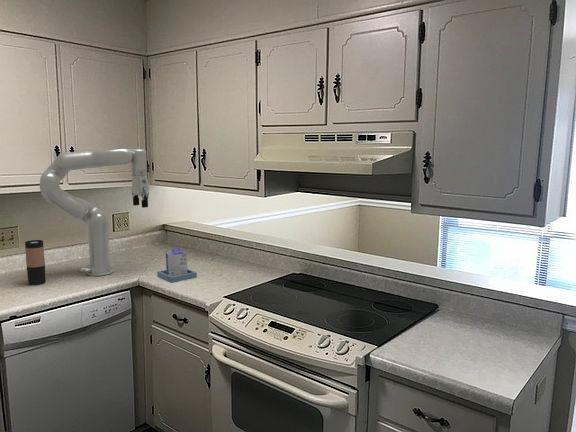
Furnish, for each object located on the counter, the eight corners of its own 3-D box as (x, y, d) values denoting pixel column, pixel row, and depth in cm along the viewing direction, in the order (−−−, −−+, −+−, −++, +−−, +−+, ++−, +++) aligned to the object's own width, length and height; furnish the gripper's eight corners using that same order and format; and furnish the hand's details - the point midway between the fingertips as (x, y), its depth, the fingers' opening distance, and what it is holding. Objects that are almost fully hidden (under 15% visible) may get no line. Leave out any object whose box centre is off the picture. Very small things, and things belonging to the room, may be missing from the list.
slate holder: (171, 282, 223) (171, 277, 223) (157, 276, 234) (157, 271, 233) (196, 277, 233) (196, 272, 233) (182, 271, 243) (182, 266, 243)
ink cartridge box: (185, 274, 238) (184, 246, 236) (188, 276, 233) (187, 248, 231) (165, 276, 234) (165, 248, 231) (168, 279, 229) (167, 250, 227)
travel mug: (26, 282, 220) (23, 241, 217) (44, 279, 225) (41, 239, 222) (29, 286, 214) (26, 244, 211) (48, 283, 219) (45, 241, 216)
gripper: (154, 174, 236) (155, 207, 238) (138, 172, 248) (139, 204, 251) (140, 174, 231) (141, 208, 233) (125, 172, 243) (126, 205, 246)
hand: (140, 206), depth 242 cm, fingers open, 9 cm apart
